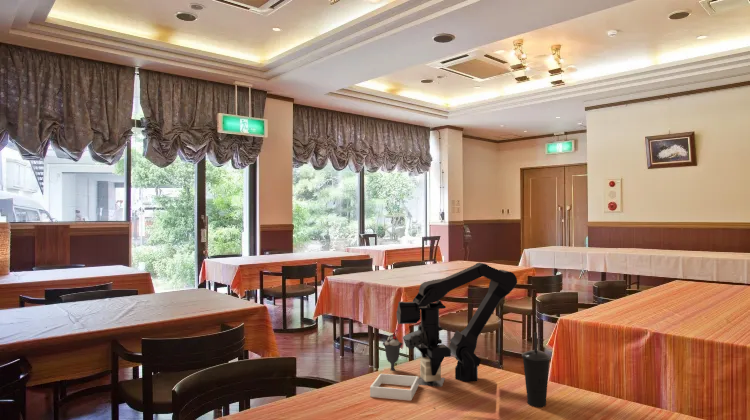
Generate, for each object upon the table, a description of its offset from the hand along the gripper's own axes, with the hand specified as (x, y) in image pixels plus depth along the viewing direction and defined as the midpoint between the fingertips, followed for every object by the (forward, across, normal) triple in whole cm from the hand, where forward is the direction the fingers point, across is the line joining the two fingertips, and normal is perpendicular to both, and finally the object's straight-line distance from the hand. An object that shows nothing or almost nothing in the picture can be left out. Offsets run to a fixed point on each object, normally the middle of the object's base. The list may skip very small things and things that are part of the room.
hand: (430, 372), depth 149 cm
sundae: (+4, -14, -8) cm, 17 cm away
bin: (+4, +5, -13) cm, 15 cm away
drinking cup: (+4, +22, +23) cm, 32 cm away
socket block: (+2, 0, 0) cm, 2 cm away
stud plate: (+4, 0, 0) cm, 4 cm away
